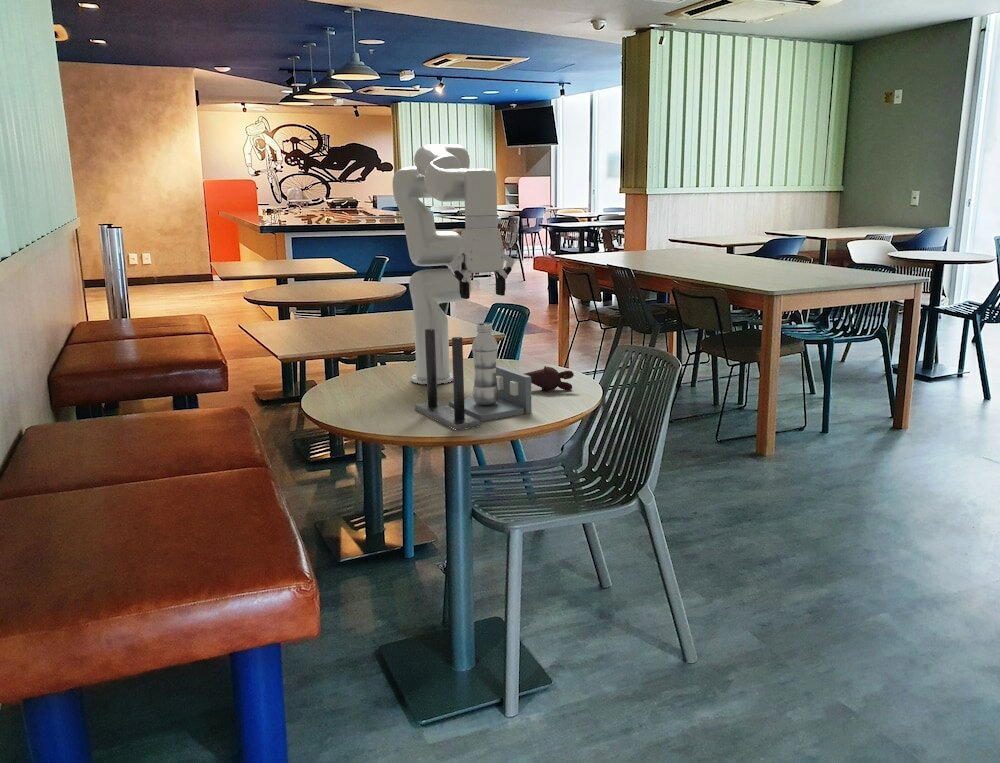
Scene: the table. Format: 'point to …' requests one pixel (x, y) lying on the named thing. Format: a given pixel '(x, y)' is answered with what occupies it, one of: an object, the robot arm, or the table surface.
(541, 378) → the dark brown rounded figure
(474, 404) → the switch board
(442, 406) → the cord gate
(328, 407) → the table surface
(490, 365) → the silver bottle
